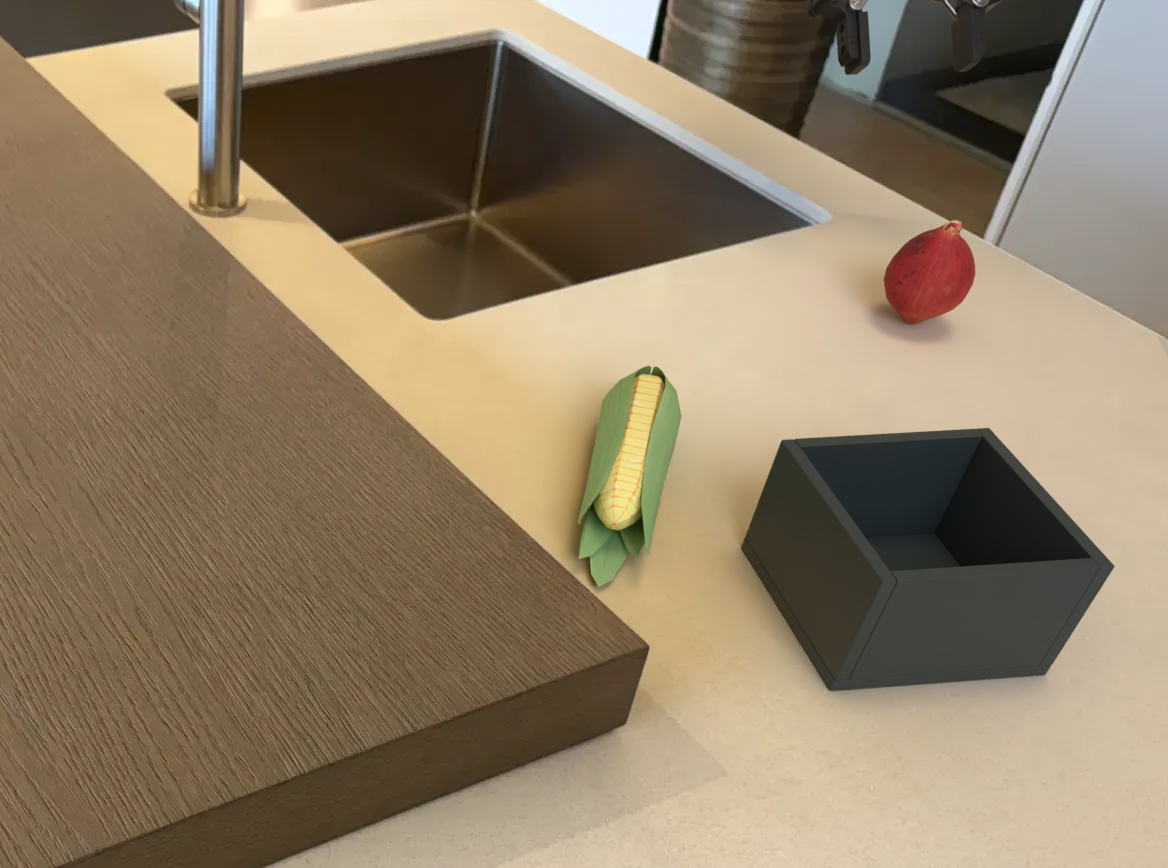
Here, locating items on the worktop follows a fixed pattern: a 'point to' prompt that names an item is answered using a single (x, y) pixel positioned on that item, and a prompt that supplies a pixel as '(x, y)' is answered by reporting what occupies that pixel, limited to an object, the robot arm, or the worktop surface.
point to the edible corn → (628, 469)
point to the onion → (930, 274)
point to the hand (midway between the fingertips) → (913, 68)
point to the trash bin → (920, 558)
